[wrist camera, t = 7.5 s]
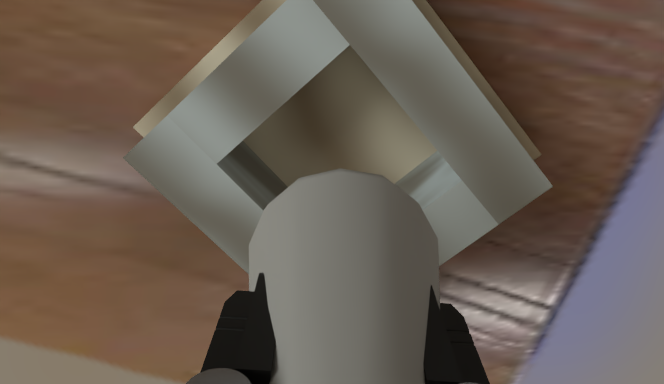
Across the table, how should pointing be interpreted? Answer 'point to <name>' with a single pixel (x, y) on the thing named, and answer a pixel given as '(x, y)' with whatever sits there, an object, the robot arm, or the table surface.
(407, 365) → the salt shaker
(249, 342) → the robot arm
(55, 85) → the table surface
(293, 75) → the caddy
